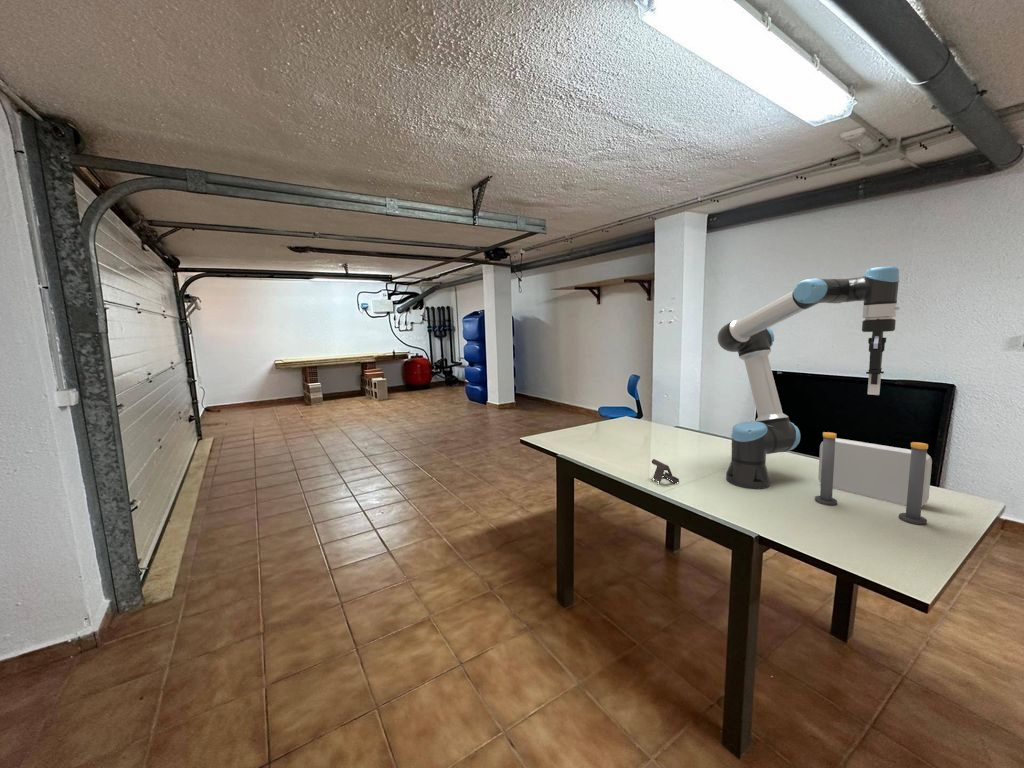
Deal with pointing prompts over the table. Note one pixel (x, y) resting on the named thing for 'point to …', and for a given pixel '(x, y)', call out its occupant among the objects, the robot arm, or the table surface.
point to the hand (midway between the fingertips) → (873, 394)
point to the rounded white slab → (874, 470)
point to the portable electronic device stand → (660, 471)
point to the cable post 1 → (827, 470)
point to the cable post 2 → (915, 485)
